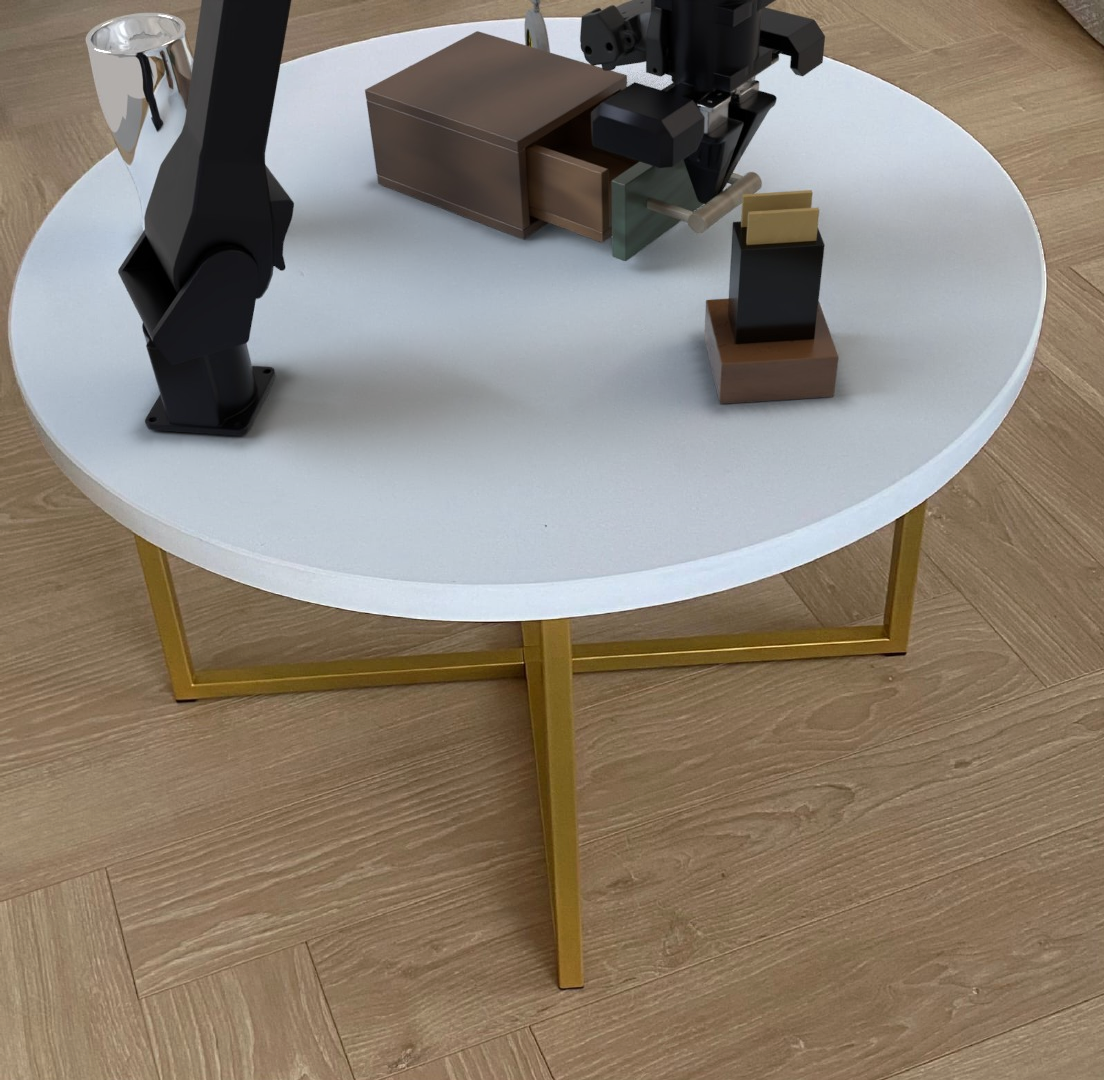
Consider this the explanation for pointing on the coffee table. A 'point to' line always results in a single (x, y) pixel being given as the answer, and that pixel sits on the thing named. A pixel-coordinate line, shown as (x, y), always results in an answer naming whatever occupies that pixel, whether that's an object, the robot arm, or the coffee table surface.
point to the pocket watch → (536, 29)
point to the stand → (768, 362)
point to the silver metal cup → (142, 88)
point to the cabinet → (477, 124)
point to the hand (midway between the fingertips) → (707, 202)
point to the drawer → (617, 191)
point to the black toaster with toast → (775, 268)
